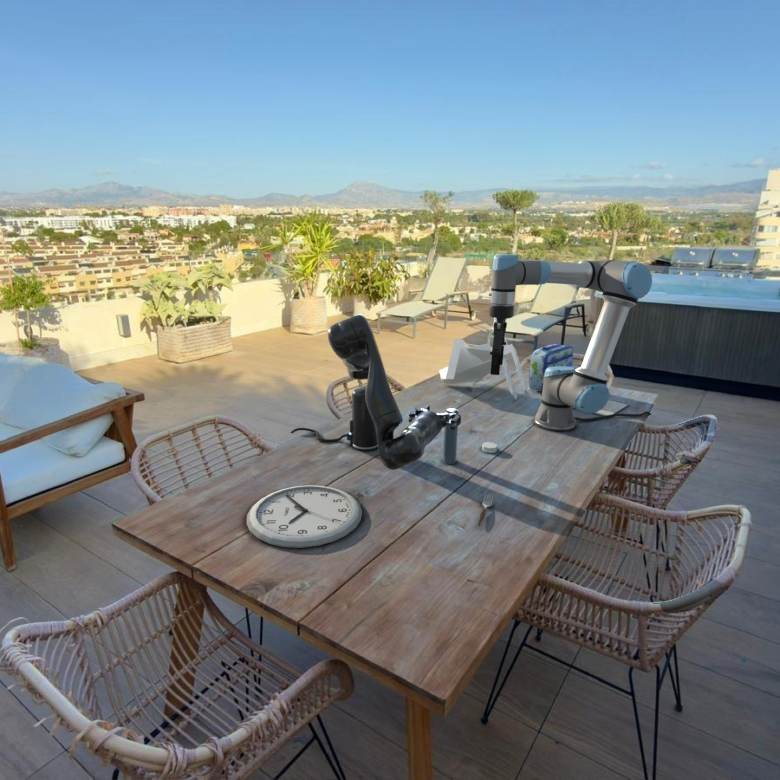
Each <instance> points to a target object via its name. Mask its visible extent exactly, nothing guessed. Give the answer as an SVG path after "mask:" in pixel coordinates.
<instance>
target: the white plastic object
mask: <svg viewBox="0 0 780 780" xmlns="http://www.w3.org/2000/svg"><path fill="white" fill-rule="evenodd" d="M496 320H497V318H494V322H496ZM504 342H506V345H502V346H504V353H503V364H502V365H501V366H502V370H503V373H504V376H505V380H506V383H507V386H508V390H509V393H510V394H511V395H512V397H513V398H514V399H515V400H517V392H516V391H517V390H516V388H515V385H514V381H513V378H512V375H511V371H510V369H509V365H508V361H510V360H513V363H514V366H515V369H516V372H517V376H518V380H519V382H520V385H521V389H522V391H523V393H524V395H525V396H526V397H528V396H531V395H530V390H529V388H528V387H529V386H528V384H527V381H526V378H525V375H524V371H523V369H522V368H523V367H522V366H521V362H520V359H519V355H518V352H517V349H516V347H515V346H514V345H513V343H511V344H508V341H507V337H506V336H505V341H504ZM492 348H493V347H491V346H490V344H489V343H488V342H487V343H483V344H479V345H473V346H469V345H468V343H466V342H465V340H464V339H463V338H460V339H458V338H454V340H453V344H452V349H451V353H450V357H449V362H448V366H446V367H444V368H442V369H440V370H439V371H438V372H439V376H440V381H442V383H443V384H444V385H445V386H449V385H458V384H467V383H468V384H469V383H473V384H477V383H480V382H482V381H484V378H485V377H486V376H487V375H489V374H491V361H492V355H490V352H492Z"/></svg>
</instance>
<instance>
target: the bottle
mask: <svg viewBox="0 0 780 780" xmlns="http://www.w3.org/2000/svg"><path fill="white" fill-rule="evenodd" d="M454 410H457V411H459V410H458V409H457V408H453V407H451V408H446V412H445V413H448V414H450V413H452V412H453V411H454ZM449 420H451V417H450V419H449ZM443 432H444V435H443V451H442V452H443V453H442V462H443V463H444V464H446V465H453V464H456V462H457V451H458V432H459V426H458V427H457V428H455V429H451V427H450V426H445V427H444V431H443Z"/></svg>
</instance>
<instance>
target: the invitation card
mask: <svg viewBox="0 0 780 780" xmlns="http://www.w3.org/2000/svg"><path fill="white" fill-rule="evenodd" d="M628 406H629V404H627V403H623V402H618V401H614V400H609V399H608V402H607V403H606V405H605V406H604V407H603V408H602V409H601V410H599V411H597V412H596V413H595V414H596V415H600V416H606V415H612V414H617V412H619V411H621V410H623V409H624V408H626V407H628Z"/></svg>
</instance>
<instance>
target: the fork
mask: <svg viewBox="0 0 780 780" xmlns="http://www.w3.org/2000/svg"><path fill="white" fill-rule="evenodd" d="M487 492H488V491H487ZM487 492H485V494H484V497H483V500H482V506H483V507H484V508H483V509H482V511H481V512H480V515H479V520H478V525H477V526H478V527H480V525H481V523H482V522H483V520H484V519H485V516H486V511H487V508H489V507H492V505H493V500H494V493H490V494H489V492H488V493H487ZM486 494H487V495H486Z"/></svg>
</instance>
